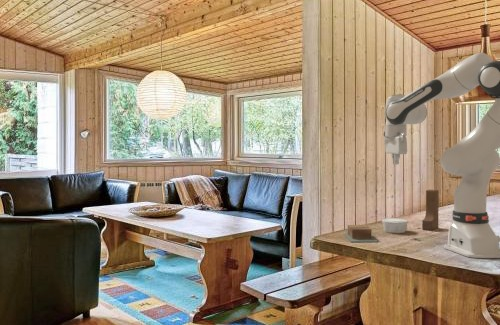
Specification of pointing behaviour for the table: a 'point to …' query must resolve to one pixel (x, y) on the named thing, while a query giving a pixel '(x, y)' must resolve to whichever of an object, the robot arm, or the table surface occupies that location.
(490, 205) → the table surface
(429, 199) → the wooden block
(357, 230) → the walnut block
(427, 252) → the table surface
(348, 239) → the rubber mat
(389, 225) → the ramekin
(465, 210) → the robot arm
